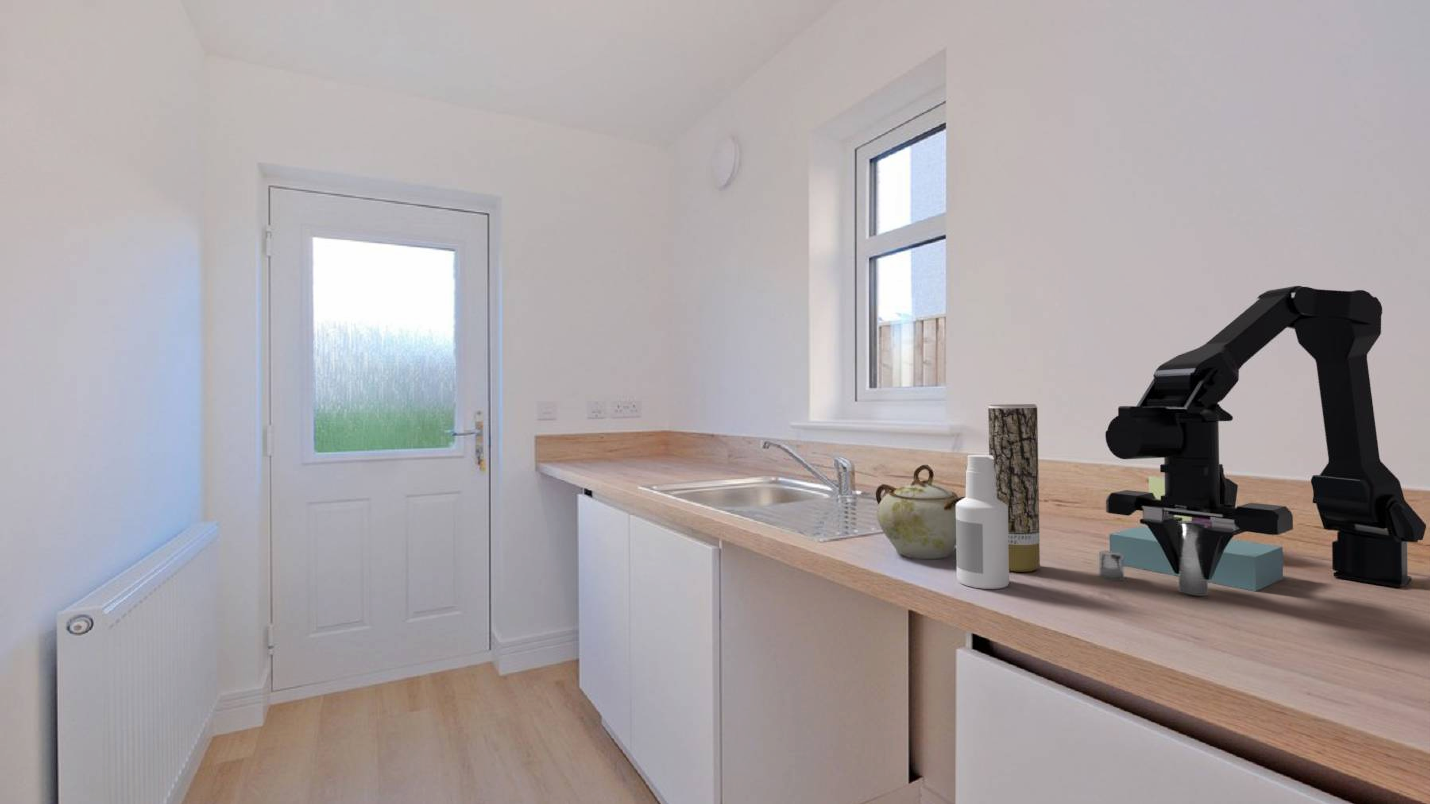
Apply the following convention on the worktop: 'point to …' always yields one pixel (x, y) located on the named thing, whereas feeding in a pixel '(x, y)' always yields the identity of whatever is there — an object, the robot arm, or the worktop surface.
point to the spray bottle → (982, 529)
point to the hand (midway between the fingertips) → (1193, 576)
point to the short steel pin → (1111, 565)
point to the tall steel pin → (1191, 558)
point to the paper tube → (1017, 478)
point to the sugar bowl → (919, 517)
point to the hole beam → (1236, 567)
